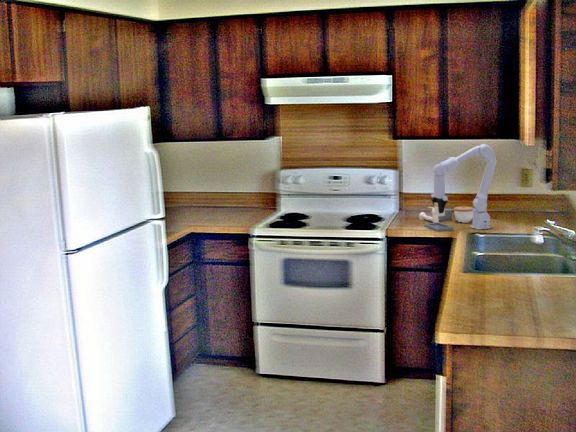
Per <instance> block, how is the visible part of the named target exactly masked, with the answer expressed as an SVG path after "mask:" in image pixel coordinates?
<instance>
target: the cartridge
mask: <svg viewBox="0 0 576 432" xmlns="http://www.w3.org/2000/svg"><path fill="white" fill-rule="evenodd" d="M433 208H434V215H435V216H445V209H446V207H445V208H444V212H443V213H439V207H438V203H437V202H434V205H433Z"/></svg>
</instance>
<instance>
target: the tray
mask: <svg viewBox="0 0 576 432" xmlns="http://www.w3.org/2000/svg"><path fill="white" fill-rule="evenodd" d="M423 227H425V228H427V229H430V230H433V231H435V232H443V231H453V230H454V227H453V226H451V225H447V224H446V223H445V224H444V223H442V222H438V223H433V222H429V223H424V225H423Z"/></svg>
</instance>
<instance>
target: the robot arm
mask: <svg viewBox="0 0 576 432" xmlns="http://www.w3.org/2000/svg"><path fill="white" fill-rule="evenodd" d="M495 154H496V153H495V151H494V149H493V148H492V147H491V146H490V145H488V144H487V143H481V144H479V145H476V146H474V147H472V148H470V149H468V150H467V151H465V152H463V153H462V154H460V155H458V156H457V157H456V156H449V157H448V158H447V159H446V160H444V161H440V162H439V163H437V164H435V165H434V167H433V169H432V171H433V173H434V174H433V177H434V178H433V193H431V195H430V196H431V199H430V201H431V202H432V204H433V206H434V202H437V203H438V207H439V213H443V212H444V208H445V209H446V205H447V203H448V200H449V199H448V196H446V178H445V175H446V172H449V171H452V170H454V169H455V168H457V167H459V165H460V163H461V162H464V161H466V160H468V159H470V158H471V157H480V156H481V157H482V158H483V159H484V161H485V163H486V165H485V166H484V167H485V168H484V171H483V174H482V178H481V182H480V185H479V187H478V188H479V189H478V192H477V193H476V196H475V198H474V199H473V200H472V207H473V208H474V209H473V218H472V225H469V226H468V227H469V228H473V229H476V230H486V229H487V230H488V229H492V227H491V216H490V214H489V213H488V211H487V207H488V203H487V201H488V194H489V191H490V188H491V184H492V180H493V177H494V174H495V170H496V167H497V164H498V161H497V158H496V155H495Z"/></svg>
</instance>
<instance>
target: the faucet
mask: <svg viewBox="0 0 576 432" xmlns="http://www.w3.org/2000/svg"><path fill="white" fill-rule="evenodd" d="M427 208H429V209H432V210H431V215H427V214H426V212H424V211H421V212H420V213H419V215H418V218H419V219H418V220H420V221H421V220H422V221H425V220H427V221H429V222H431V223H438V222H439V219H438V216H435V215H434V206H433V207H431V206H428V207H427ZM424 219H425V220H424Z"/></svg>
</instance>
